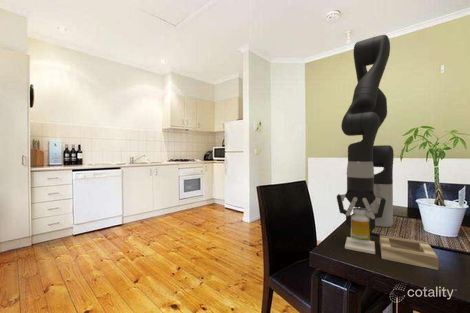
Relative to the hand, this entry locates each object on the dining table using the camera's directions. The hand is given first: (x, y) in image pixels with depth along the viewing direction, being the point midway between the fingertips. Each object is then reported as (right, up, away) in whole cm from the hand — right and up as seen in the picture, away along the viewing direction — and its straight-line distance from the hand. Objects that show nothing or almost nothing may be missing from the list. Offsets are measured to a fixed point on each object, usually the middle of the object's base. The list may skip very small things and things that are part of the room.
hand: (360, 228), depth 72 cm
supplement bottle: (0, -4, 0) cm, 4 cm away
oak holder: (+9, -6, -7) cm, 13 cm away
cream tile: (0, -6, 0) cm, 6 cm away
